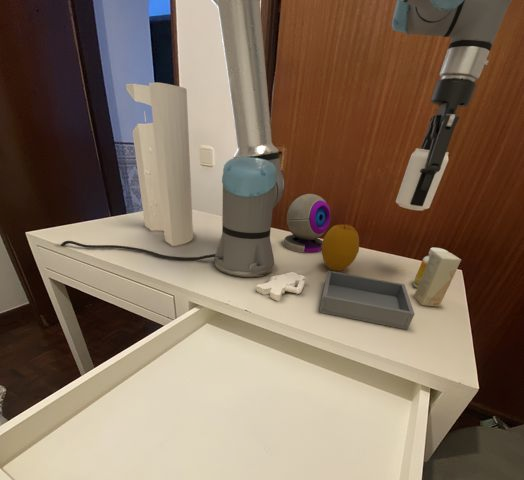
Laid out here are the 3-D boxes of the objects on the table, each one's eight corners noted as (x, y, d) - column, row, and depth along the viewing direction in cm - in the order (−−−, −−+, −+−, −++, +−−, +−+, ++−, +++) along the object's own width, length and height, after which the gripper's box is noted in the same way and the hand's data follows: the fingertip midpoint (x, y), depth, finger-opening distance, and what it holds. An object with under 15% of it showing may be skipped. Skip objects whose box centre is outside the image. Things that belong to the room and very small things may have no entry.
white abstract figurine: (313, 285, 71) (314, 277, 70) (282, 306, 64) (283, 297, 63) (283, 273, 75) (284, 265, 74) (251, 291, 68) (251, 283, 67)
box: (439, 307, 69) (462, 260, 62) (420, 305, 69) (442, 258, 62) (430, 297, 73) (451, 251, 67) (412, 295, 73) (432, 249, 67)
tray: (319, 312, 62) (322, 296, 60) (324, 284, 74) (328, 270, 71) (407, 329, 60) (414, 313, 57) (399, 298, 71) (404, 284, 69)
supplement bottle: (425, 282, 81) (441, 246, 75) (439, 291, 77) (456, 254, 71) (408, 282, 80) (423, 246, 74) (421, 291, 75) (437, 253, 70)
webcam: (303, 255, 89) (312, 200, 80) (274, 242, 97) (280, 190, 88) (331, 249, 96) (343, 197, 87) (303, 237, 104) (311, 189, 95)
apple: (325, 259, 88) (335, 216, 81) (357, 268, 85) (370, 224, 78) (311, 268, 81) (320, 222, 74) (345, 278, 78) (358, 231, 71)
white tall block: (169, 246, 85) (142, 226, 98) (205, 241, 91) (175, 223, 104) (154, 81, 64) (122, 83, 77) (202, 89, 70) (165, 90, 83)
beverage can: (424, 213, 71) (448, 152, 64) (390, 205, 75) (409, 147, 67) (431, 209, 77) (453, 153, 70) (399, 202, 80) (418, 148, 73)
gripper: (497, 74, 53) (438, 213, 66) (461, 88, 69) (420, 197, 83) (452, 69, 54) (403, 207, 67) (427, 85, 70) (392, 193, 84)
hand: (413, 201), depth 75 cm, fingers closed on beverage can, 8 cm apart
